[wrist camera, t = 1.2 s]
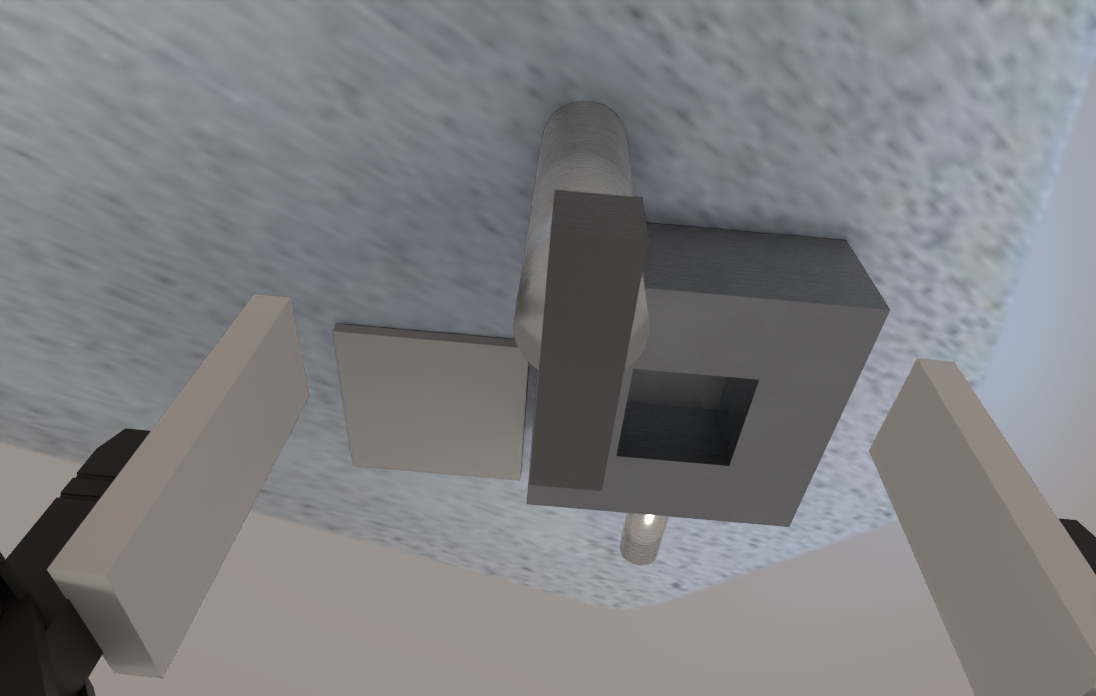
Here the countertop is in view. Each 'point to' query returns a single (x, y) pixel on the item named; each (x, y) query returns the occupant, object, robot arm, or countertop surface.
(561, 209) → the chuck key
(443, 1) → the countertop surface
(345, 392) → the mat
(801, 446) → the block
